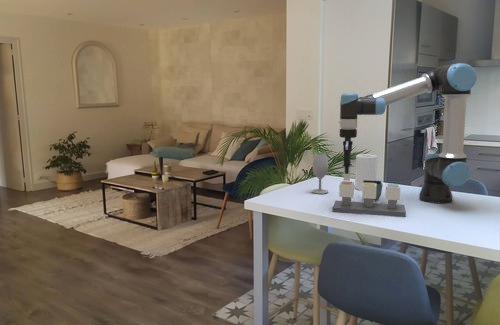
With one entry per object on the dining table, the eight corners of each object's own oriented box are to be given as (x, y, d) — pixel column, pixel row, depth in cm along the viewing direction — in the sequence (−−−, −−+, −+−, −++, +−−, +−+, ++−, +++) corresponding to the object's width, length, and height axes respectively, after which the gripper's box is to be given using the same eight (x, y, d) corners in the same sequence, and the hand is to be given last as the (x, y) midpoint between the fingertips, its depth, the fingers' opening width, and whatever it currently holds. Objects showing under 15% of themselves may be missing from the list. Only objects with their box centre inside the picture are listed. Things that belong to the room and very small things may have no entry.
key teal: (399, 197, 192) (400, 183, 191) (399, 200, 186) (400, 186, 185) (385, 196, 194) (385, 183, 193) (385, 199, 188) (386, 185, 187)
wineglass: (330, 191, 230) (331, 153, 227) (324, 195, 223) (325, 155, 219) (315, 189, 235) (316, 152, 231) (309, 193, 228) (309, 154, 224)
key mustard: (376, 195, 195) (376, 182, 194) (375, 198, 189) (376, 185, 188) (362, 194, 197) (363, 181, 196) (361, 198, 191) (362, 184, 190)
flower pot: (382, 202, 207) (382, 184, 206) (363, 201, 209) (363, 183, 208) (380, 198, 216) (381, 180, 214) (362, 197, 218) (362, 180, 216)
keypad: (404, 208, 196) (405, 194, 194) (405, 217, 183) (406, 201, 182) (335, 204, 205) (335, 190, 203) (332, 211, 192) (332, 196, 191)
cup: (354, 186, 243) (355, 154, 239) (374, 186, 241) (375, 154, 238) (356, 190, 232) (357, 157, 229) (377, 191, 230) (378, 157, 227)
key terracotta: (353, 194, 198) (354, 181, 197) (352, 197, 192) (353, 184, 191) (340, 193, 200) (340, 180, 199) (339, 196, 194) (339, 183, 193)
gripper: (341, 127, 198) (339, 177, 202) (338, 129, 186) (336, 182, 190) (357, 127, 196) (355, 177, 200) (356, 129, 184) (354, 183, 187)
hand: (346, 180), depth 195 cm, fingers closed
